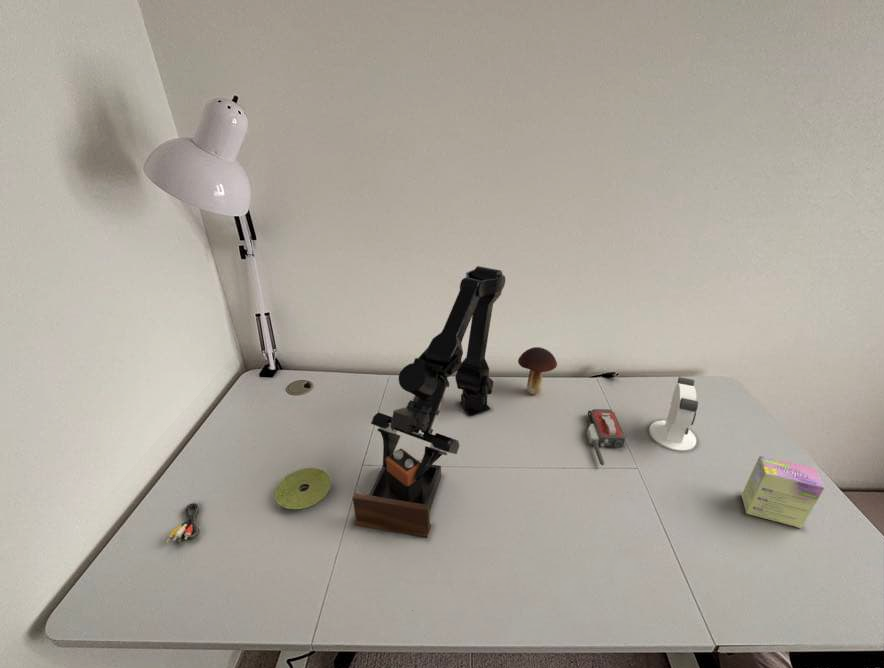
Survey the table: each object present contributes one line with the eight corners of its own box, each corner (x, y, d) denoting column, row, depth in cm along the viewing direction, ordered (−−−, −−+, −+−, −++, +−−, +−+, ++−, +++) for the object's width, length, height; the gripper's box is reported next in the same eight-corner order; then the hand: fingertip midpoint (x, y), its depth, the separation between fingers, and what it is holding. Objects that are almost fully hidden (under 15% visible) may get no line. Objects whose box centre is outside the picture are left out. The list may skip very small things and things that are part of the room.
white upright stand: (698, 457, 107) (716, 408, 99) (649, 445, 110) (664, 397, 103) (693, 427, 117) (710, 380, 109) (649, 417, 120) (662, 371, 113)
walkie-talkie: (579, 415, 120) (596, 468, 102) (581, 402, 118) (600, 454, 100) (611, 415, 120) (634, 469, 102) (614, 402, 118) (638, 455, 100)
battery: (403, 477, 97) (400, 443, 92) (424, 494, 93) (422, 459, 88) (387, 488, 94) (384, 454, 89) (408, 506, 90) (405, 471, 86)
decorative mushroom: (507, 391, 128) (511, 347, 121) (532, 378, 135) (537, 335, 128) (536, 409, 122) (541, 363, 114) (560, 394, 128) (567, 349, 121)
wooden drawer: (382, 467, 101) (380, 444, 97) (446, 477, 98) (446, 454, 95) (354, 525, 87) (350, 500, 83) (427, 538, 85) (426, 513, 81)
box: (793, 507, 94) (816, 467, 88) (801, 529, 89) (825, 488, 84) (740, 494, 97) (758, 454, 91) (745, 514, 92) (764, 473, 86)
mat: (292, 525, 86) (291, 518, 85) (266, 493, 93) (265, 487, 92) (342, 493, 94) (341, 486, 93) (315, 466, 100) (314, 459, 99)
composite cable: (188, 506, 89) (184, 498, 88) (213, 503, 90) (210, 495, 89) (167, 549, 81) (163, 540, 80) (195, 545, 82) (191, 537, 81)
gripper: (372, 380, 89) (342, 455, 86) (453, 407, 82) (424, 489, 79) (396, 392, 99) (370, 459, 96) (470, 416, 92) (445, 489, 89)
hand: (400, 473), depth 90 cm, fingers closed on battery, 7 cm apart
